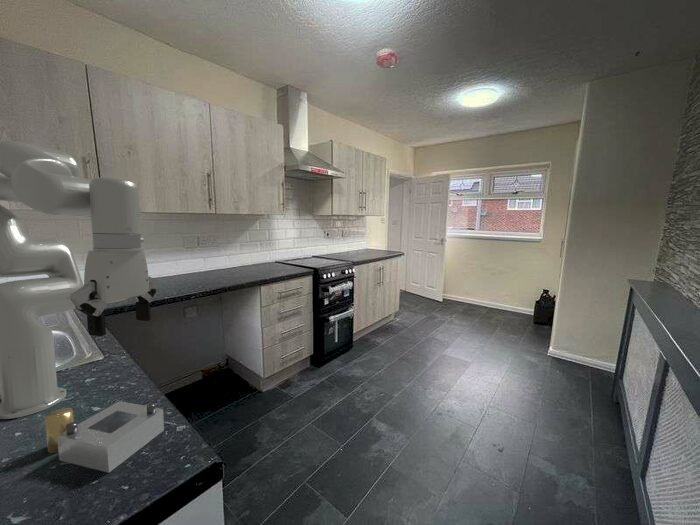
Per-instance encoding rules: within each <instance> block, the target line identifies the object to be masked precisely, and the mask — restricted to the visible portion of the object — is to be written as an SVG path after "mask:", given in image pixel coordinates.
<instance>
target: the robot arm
mask: <svg viewBox="0 0 700 525" xmlns="http://www.w3.org/2000/svg"><path fill="white" fill-rule="evenodd" d="M79 175H80V168H79V164H78V162H77V161H76V159H75V158H74V157H73V156H72V155H70V154H69V153H67V152H66V151H63V150H59V149H53V148H49V147H45V146H40V145H35V144H31V143H27V142H21V141H17V140H14V141H13V140H5V141H0V201H1V202H2V201H3V202H15V203H23V205H26V206H27V207H29V208H31V209H32V210H34V211H36V212H40V213H42V214H46V215H54V216H66V217H68V216H69V217H70V216H71V217H86V218H90V220H91V223H90V224H91V239H92V241H91V242H92V250H88V252H87V254H86V259H85V264H84V273H83V274H84V276H83V279H82V277H81V274H80V271H79V269H78V264H77V262H76V258H75V256H74V254H73V251H72V249H71V248H70V247H69V245H68V244H67V243H65V242H64V241H62V240H61V239H56V238H45V237H44V238H41V237H39V238H32V237H29V236H28V235H27V233H26V231H25V230H26V229H25V227H24V224H23V222H22V220H21V219H20V218H19V217H18V216H17V215H16V214H15V213H13V212H12V211H11V210H10V209H8V208H6V207H5V206H3V205H1V204H0V278H16V277H29V276H38V275H39V276H41V275H47V276H48V277H38V278H37V277H36V278H28V279H19V280H9V281H6V282H1V283H0V399H1V402H0V420H10V419H17V418H23V417H26V416H27V417H28V416H30V415H34V414H37V413H39V412H42V411H44V410H47V409H49V408H52V407H54V406H56V405H57V404H59V403H60V402H62V401H63V400H64V399H65V398H66V397H67V390H66V388H64V387H59V386H58V380H57V379H58V378H57V377H58V376H57V367H56V366H57V365H56V364H57V363H56V355H55V354H56V353H55V352H56V351H55V341H54V340H55V339H54V332H53V331H52V329H51V328H50V327H49V326H48V325H47V324H45V323H43V322H42V321H41V320H39V318H40V317H43V316H47V315H53V314H58V313H59V314H60V313H63V312H68V311H72V310H76V309H77V310H78V312H81V313H82V315H84V316H86V320H87V322H86V323H87V332H88V334H89V335H90V336H95V337H104V336H106V333H107V330H106V329H107V328H106V327H107V326H106V315H105V314H102V313H103V312H104V310H105V309H106V307H107V305H108V304H111V303H117V302H118V303H119V302H121V301H126V300H130V299H134V298H135V299H136V300H137V301H136V302H135V304H134V305H135V319H136V321H140V322H141V321H142V322H143V321H144V322H150V321H151V319H152V318H151V303H152V302H153V300H154V296H155V295H156V294H157V289H158V286H159V279H156V278H154V277H151V276H149V269H148V264H147V259H146V255H145V251H144V248H143V249H142V244H143V243H144V241H145V240H144V237H142V236H141V232H142V231H141V212H140V208H141V207H140V193H139V192H140V190H139V187H138V185H137V184H136V183H135V182H134V181H132V180H131V181H130V180H128V179H124V178H116V177H104V176H103V177H94V178H92V179H91V178H90V179H89V178H85V177H84V178H83V177H79Z"/></svg>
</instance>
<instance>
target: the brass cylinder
mask: <svg viewBox="0 0 700 525" xmlns="http://www.w3.org/2000/svg"><path fill="white" fill-rule="evenodd" d="M71 422H75V421H74V410H73V408H72V407H63V408H59V409H56V410H53V411H50V412H49V413H47V414H46V415H45V416H44V423H45V433H46V444H47V445H46V446H47V452H48V453H49V454H55V453H59V451H58V440H57V436H58V435H60V434H61V433H63V432H65V431H66V425H67V424H69V423H71Z"/></svg>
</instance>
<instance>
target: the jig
mask: <svg viewBox="0 0 700 525" xmlns="http://www.w3.org/2000/svg"><path fill="white" fill-rule="evenodd" d="M156 406H157V405H156V403H155V402H150V403H148V404H146V405H143V404H137V403H132V402H127V401H121V400H119V401H117V402H115V403H114V404H112V405H110V406H107V407H106V408H104V409H102V410H101V411H99V412H97V413H96V414H94V415H92V416H90V417H88V418H86V419H85V420H83V421H81V422H80V423H78V421H74V422H71V423H69V424H67V425H66V431H65V432H63V433H61V434H60V435H58V436H57V440H58V451H59V452H58V461H61V462H65V463H69V464H73V465H77V466H80V467H84V468H89V469H93V470H96V471H100V472H104V473H108V474H109V473H111V472H112V471H113V470H114V469H115V468H117V467H119V466H120V465H121V464H123V463H124V462H125V461H126V460H128V459H129V458H131V457H132V456H133V455H134V454H135V453H137V451H139V450H141V449H142V448H144V446H146V445H147V444H148V443H150V442H151V441H152V440H153V439H155V438H156V437H157V436H158V435H161V433H163V432H164V431H165V424H164V422H165V421H164V409H163V408H161V407H156Z"/></svg>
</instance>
